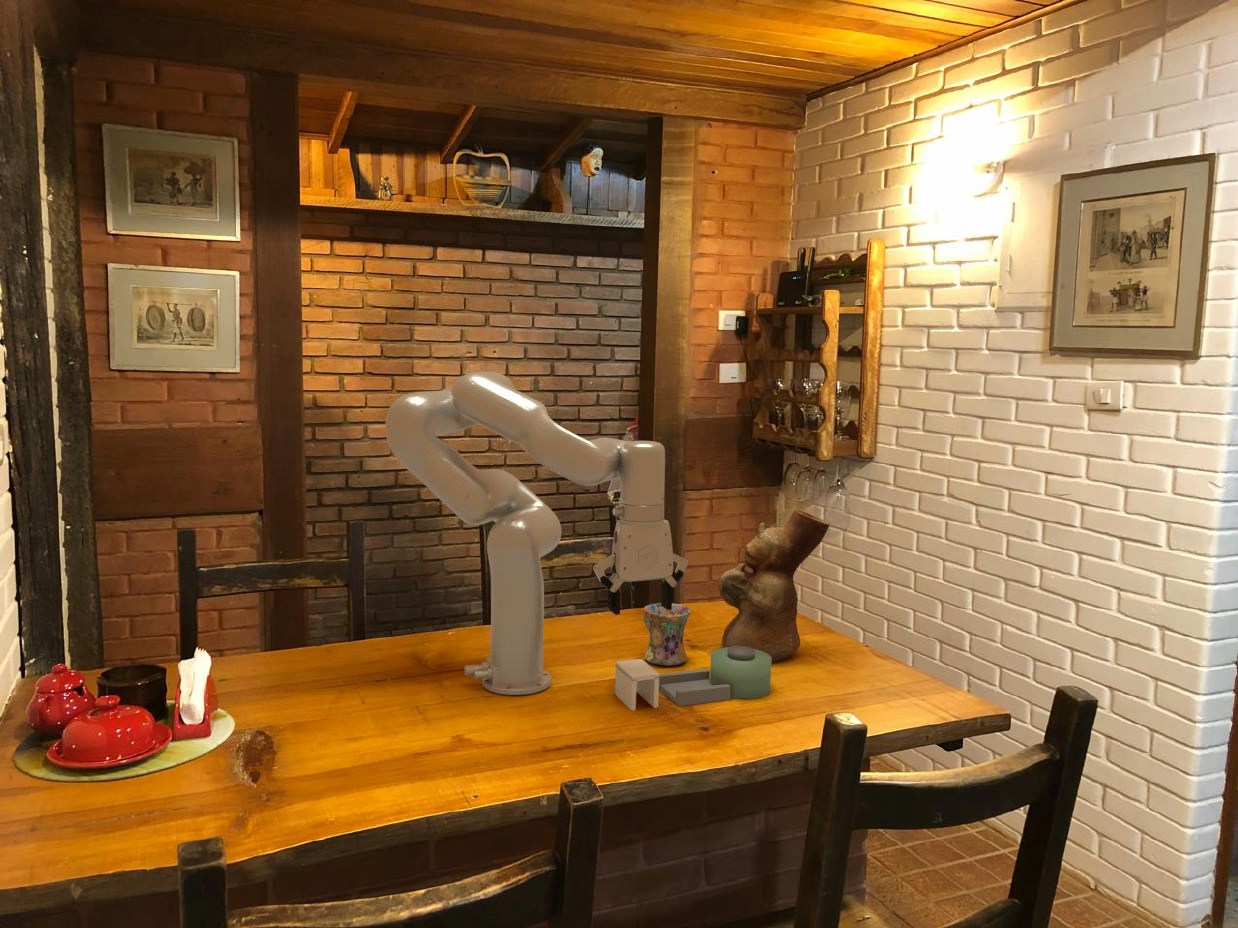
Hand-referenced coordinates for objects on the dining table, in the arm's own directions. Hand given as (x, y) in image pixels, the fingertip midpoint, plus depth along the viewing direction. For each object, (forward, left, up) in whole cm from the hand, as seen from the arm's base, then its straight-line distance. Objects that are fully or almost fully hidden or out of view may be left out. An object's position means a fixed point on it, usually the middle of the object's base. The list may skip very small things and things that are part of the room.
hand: (640, 610), depth 159 cm
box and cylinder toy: (+16, 0, -16) cm, 23 cm away
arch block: (0, 0, -16) cm, 16 cm away
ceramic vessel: (+36, +16, -17) cm, 43 cm away
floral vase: (+13, +19, -17) cm, 28 cm away
